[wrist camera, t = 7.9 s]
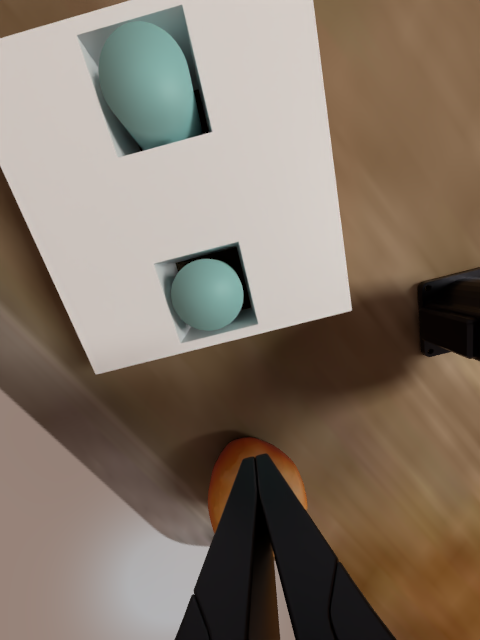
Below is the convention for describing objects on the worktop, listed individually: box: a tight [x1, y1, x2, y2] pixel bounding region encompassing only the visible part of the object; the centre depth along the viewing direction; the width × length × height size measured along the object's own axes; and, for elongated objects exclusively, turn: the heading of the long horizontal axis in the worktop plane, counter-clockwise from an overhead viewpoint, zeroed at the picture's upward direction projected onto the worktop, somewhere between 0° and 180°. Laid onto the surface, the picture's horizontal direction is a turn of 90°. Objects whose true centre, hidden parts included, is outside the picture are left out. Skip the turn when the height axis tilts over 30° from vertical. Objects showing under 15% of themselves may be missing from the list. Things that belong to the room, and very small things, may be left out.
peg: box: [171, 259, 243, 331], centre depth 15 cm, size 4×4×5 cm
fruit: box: [208, 437, 307, 557], centre depth 20 cm, size 8×8×8 cm
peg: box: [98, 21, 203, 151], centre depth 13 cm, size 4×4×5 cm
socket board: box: [0, 0, 352, 374], centre depth 14 cm, size 16×16×5 cm
